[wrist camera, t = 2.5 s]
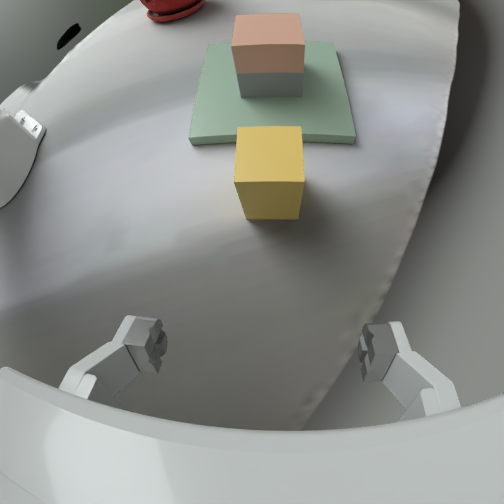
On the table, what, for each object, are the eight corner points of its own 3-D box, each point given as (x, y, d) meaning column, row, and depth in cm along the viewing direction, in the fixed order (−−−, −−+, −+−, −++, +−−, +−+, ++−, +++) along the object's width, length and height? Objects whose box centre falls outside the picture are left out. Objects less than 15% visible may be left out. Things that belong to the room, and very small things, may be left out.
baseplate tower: (191, 145, 30) (164, 89, 21) (209, 52, 34) (196, 3, 25) (353, 143, 29) (374, 85, 19) (332, 49, 33) (338, -1, 23)
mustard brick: (246, 219, 28) (233, 182, 20) (248, 173, 29) (237, 127, 21) (298, 219, 27) (304, 181, 20) (296, 173, 28) (301, 126, 21)
